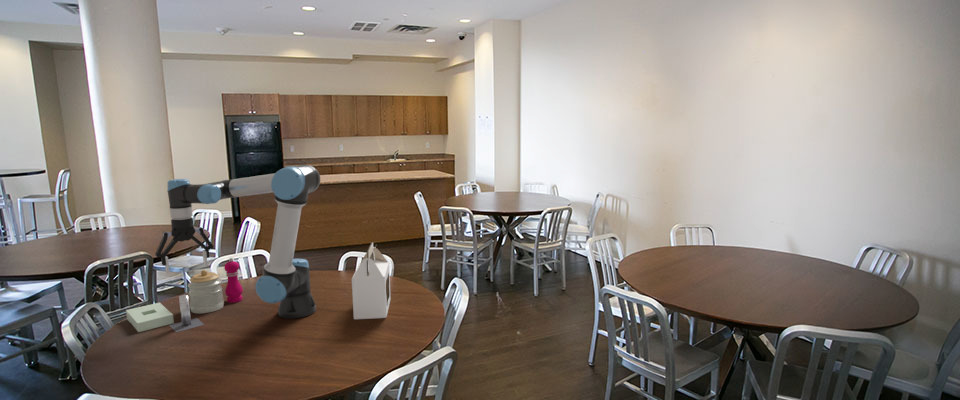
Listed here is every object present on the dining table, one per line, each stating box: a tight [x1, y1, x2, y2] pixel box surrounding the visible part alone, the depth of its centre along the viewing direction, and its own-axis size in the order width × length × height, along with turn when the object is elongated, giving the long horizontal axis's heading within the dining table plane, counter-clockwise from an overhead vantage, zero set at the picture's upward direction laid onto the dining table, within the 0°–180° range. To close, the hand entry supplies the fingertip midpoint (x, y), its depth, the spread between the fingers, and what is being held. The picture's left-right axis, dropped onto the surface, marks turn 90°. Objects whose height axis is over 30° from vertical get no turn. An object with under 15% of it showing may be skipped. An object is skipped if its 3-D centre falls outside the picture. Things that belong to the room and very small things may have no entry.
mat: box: [168, 317, 205, 333], centre depth 196 cm, size 10×10×1 cm
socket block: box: [125, 302, 175, 333], centre depth 200 cm, size 20×12×4 cm, turn 46°
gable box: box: [351, 242, 391, 320], centre depth 209 cm, size 22×13×28 cm, turn 6°
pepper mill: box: [223, 257, 244, 304], centre depth 222 cm, size 7×7×20 cm
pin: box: [178, 294, 192, 326], centre depth 195 cm, size 3×3×12 cm
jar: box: [187, 269, 225, 314], centre depth 213 cm, size 13×13×18 cm
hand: (187, 269), depth 198 cm, fingers open, 13 cm apart
